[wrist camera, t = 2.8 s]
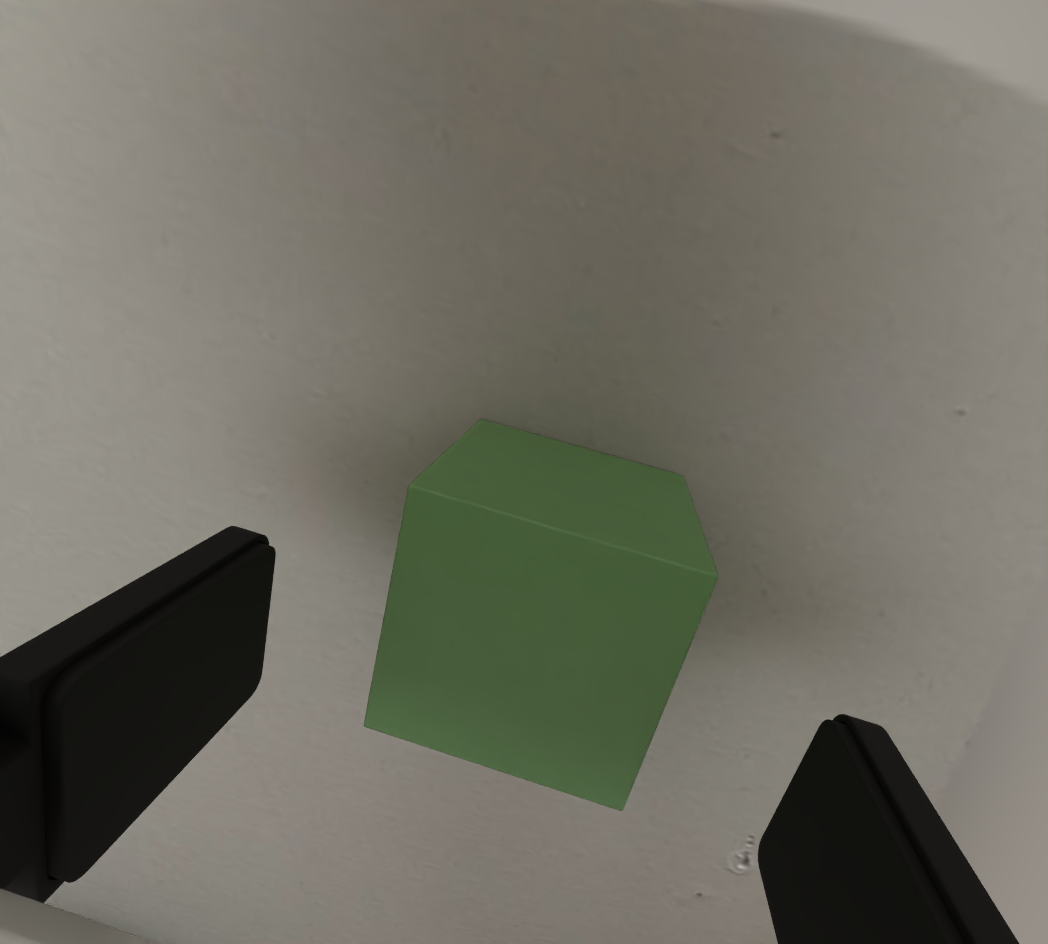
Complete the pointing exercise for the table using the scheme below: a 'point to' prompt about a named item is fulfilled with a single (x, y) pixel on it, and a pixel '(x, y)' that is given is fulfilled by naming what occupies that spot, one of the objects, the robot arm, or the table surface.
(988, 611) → the table surface
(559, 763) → the toy block
